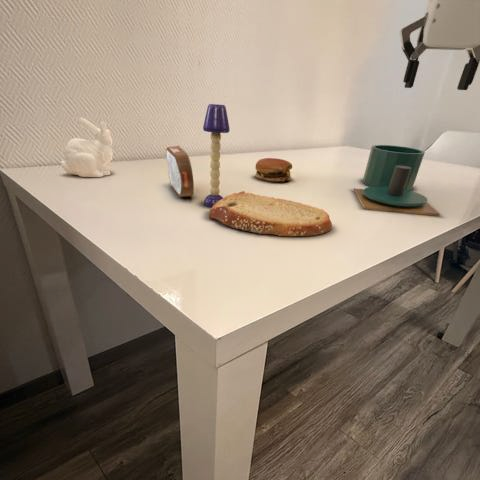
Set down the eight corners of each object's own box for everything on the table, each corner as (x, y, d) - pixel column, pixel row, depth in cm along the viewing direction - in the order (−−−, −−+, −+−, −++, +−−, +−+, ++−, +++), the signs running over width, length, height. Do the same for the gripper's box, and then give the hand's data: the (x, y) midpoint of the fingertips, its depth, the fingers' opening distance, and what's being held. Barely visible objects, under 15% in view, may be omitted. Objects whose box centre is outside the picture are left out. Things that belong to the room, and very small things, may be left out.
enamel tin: (405, 181, 92) (416, 147, 87) (418, 193, 82) (431, 155, 77) (359, 177, 93) (368, 143, 88) (367, 188, 83) (377, 151, 78)
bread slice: (340, 230, 57) (345, 209, 55) (254, 248, 49) (256, 224, 47) (277, 201, 69) (279, 183, 67) (200, 212, 61) (199, 191, 59)
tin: (195, 202, 66) (194, 155, 61) (179, 202, 65) (177, 155, 60) (180, 183, 78) (178, 142, 73) (166, 183, 77) (163, 142, 72)
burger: (255, 173, 90) (257, 154, 87) (289, 176, 90) (292, 157, 87) (253, 182, 82) (255, 161, 79) (291, 185, 82) (294, 164, 79)
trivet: (417, 196, 80) (417, 194, 79) (438, 216, 67) (439, 213, 67) (353, 190, 81) (354, 188, 80) (363, 209, 69) (364, 206, 68)
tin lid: (415, 194, 79) (426, 163, 75) (434, 212, 68) (448, 176, 64) (357, 189, 80) (365, 158, 76) (367, 205, 69) (377, 170, 65)
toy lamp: (203, 200, 68) (202, 102, 58) (226, 200, 68) (229, 104, 58) (203, 207, 64) (202, 104, 54) (228, 208, 64) (231, 106, 54)
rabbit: (115, 170, 84) (107, 115, 77) (121, 179, 78) (112, 119, 71) (63, 171, 80) (49, 113, 73) (63, 181, 73) (48, 118, 66)
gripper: (521, -37, 54) (474, 90, 64) (411, -37, 56) (383, 86, 66) (549, -52, 48) (493, 91, 58) (425, -52, 50) (391, 87, 60)
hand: (434, 88), depth 62 cm, fingers open, 9 cm apart
